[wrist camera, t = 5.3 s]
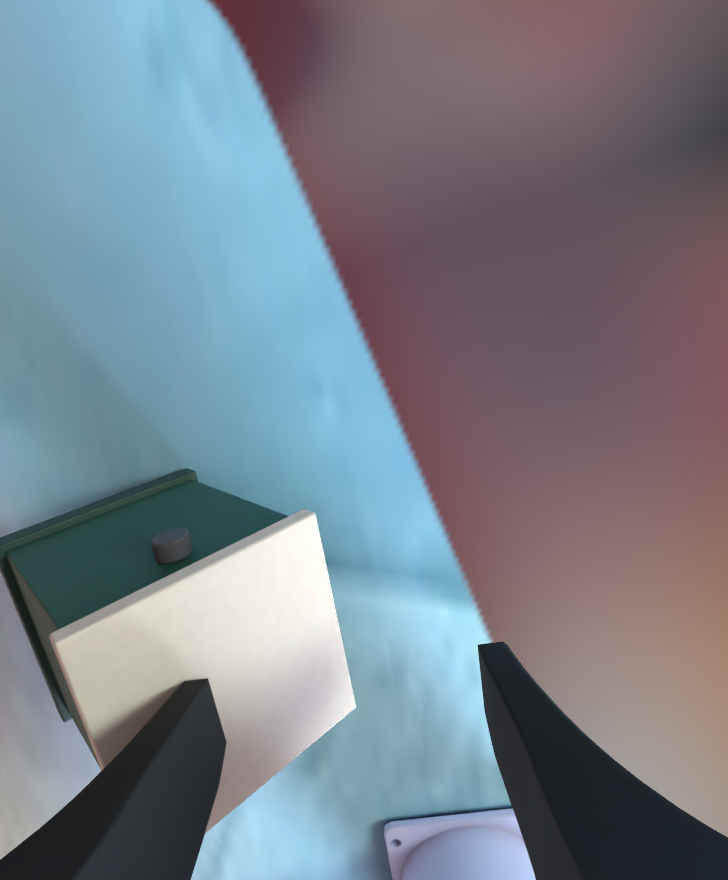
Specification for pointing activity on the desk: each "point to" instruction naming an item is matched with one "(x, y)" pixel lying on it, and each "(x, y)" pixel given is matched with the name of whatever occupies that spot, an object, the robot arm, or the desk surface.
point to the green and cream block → (185, 621)
